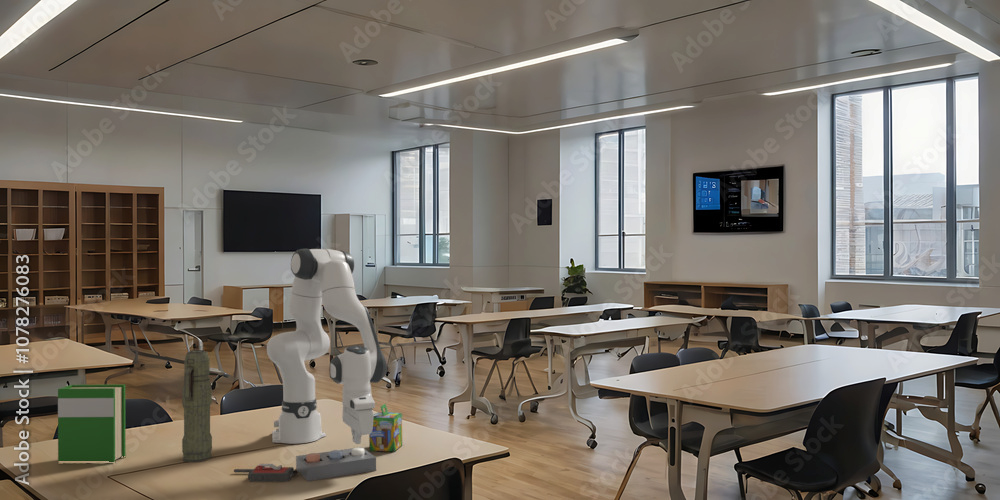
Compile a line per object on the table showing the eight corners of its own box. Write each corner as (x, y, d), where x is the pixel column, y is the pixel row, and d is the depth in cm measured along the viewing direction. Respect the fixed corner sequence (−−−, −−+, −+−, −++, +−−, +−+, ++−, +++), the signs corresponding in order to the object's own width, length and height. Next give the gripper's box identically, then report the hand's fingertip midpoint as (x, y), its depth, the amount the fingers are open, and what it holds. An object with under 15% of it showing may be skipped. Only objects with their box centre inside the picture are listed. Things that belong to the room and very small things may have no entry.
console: (296, 468, 225) (296, 455, 225) (361, 459, 235) (361, 447, 235) (307, 481, 212) (307, 467, 212) (376, 470, 222) (376, 457, 222)
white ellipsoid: (349, 458, 228) (349, 448, 228) (362, 456, 230) (362, 447, 230) (353, 461, 224) (353, 451, 224) (366, 459, 226) (366, 450, 226)
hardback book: (125, 457, 239) (125, 384, 239) (113, 463, 231) (113, 388, 231) (71, 457, 238) (71, 384, 239) (58, 464, 231) (58, 388, 231)
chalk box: (394, 452, 243) (394, 408, 243) (368, 451, 245) (368, 407, 245) (403, 445, 252) (403, 402, 252) (378, 444, 254) (378, 401, 254)
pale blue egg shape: (327, 460, 224) (327, 451, 224) (340, 459, 226) (340, 449, 226) (331, 464, 221) (331, 454, 221) (344, 462, 223) (344, 452, 223)
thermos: (175, 463, 231) (175, 353, 231) (191, 453, 243) (191, 348, 243) (202, 463, 231) (202, 353, 231) (218, 453, 243) (217, 348, 243)
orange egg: (304, 464, 221) (304, 454, 221) (318, 462, 223) (318, 452, 223) (308, 467, 217) (308, 457, 217) (321, 465, 219) (321, 455, 219)
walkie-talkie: (300, 474, 221) (235, 474, 221) (300, 459, 221) (235, 459, 221) (291, 483, 212) (223, 483, 212) (291, 468, 212) (223, 468, 212)
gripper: (337, 393, 235) (337, 436, 235) (356, 405, 217) (356, 452, 217) (356, 391, 238) (356, 434, 238) (377, 403, 220) (376, 449, 220)
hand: (356, 442), depth 227 cm, fingers closed
